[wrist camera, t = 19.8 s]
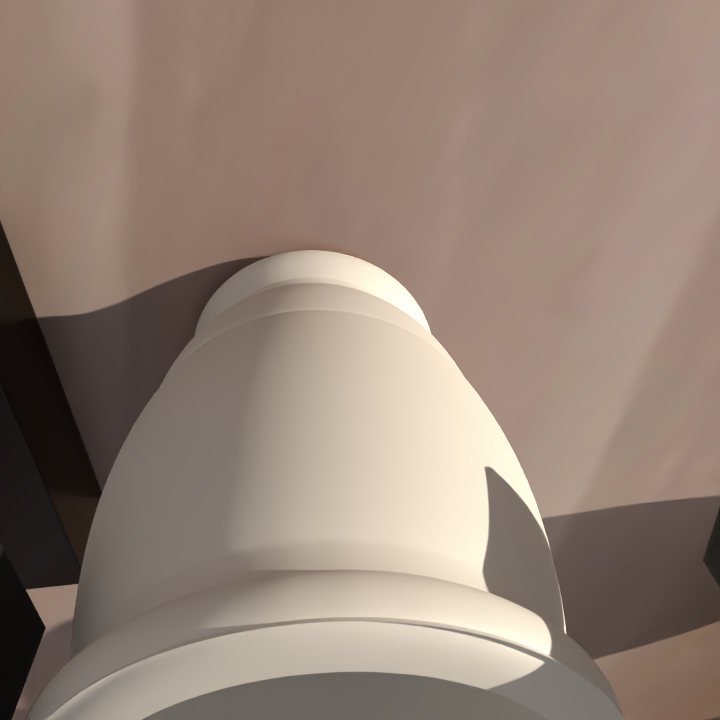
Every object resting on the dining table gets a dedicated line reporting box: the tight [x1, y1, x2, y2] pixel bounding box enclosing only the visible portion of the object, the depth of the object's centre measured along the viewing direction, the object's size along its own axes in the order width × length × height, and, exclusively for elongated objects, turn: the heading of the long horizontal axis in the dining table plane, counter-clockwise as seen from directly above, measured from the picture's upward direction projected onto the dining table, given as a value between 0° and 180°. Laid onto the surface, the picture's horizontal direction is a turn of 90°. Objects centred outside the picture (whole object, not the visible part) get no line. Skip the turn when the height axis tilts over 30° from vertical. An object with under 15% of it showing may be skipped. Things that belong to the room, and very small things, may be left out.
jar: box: [25, 250, 624, 720], centre depth 17 cm, size 11×10×15 cm
